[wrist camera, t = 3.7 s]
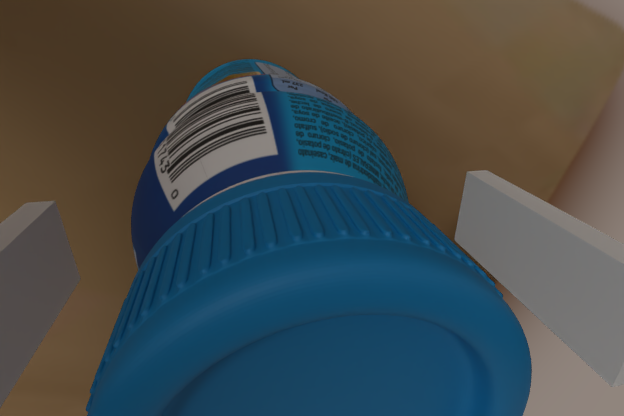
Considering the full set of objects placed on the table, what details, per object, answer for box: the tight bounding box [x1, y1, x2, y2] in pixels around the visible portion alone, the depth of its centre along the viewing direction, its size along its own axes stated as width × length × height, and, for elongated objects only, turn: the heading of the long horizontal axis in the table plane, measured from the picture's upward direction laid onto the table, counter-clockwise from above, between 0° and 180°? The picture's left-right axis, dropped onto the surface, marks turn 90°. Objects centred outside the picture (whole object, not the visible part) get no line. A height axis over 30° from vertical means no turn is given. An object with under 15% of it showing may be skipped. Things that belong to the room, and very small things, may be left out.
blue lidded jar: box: [86, 59, 532, 416], centre depth 14 cm, size 8×8×20 cm
